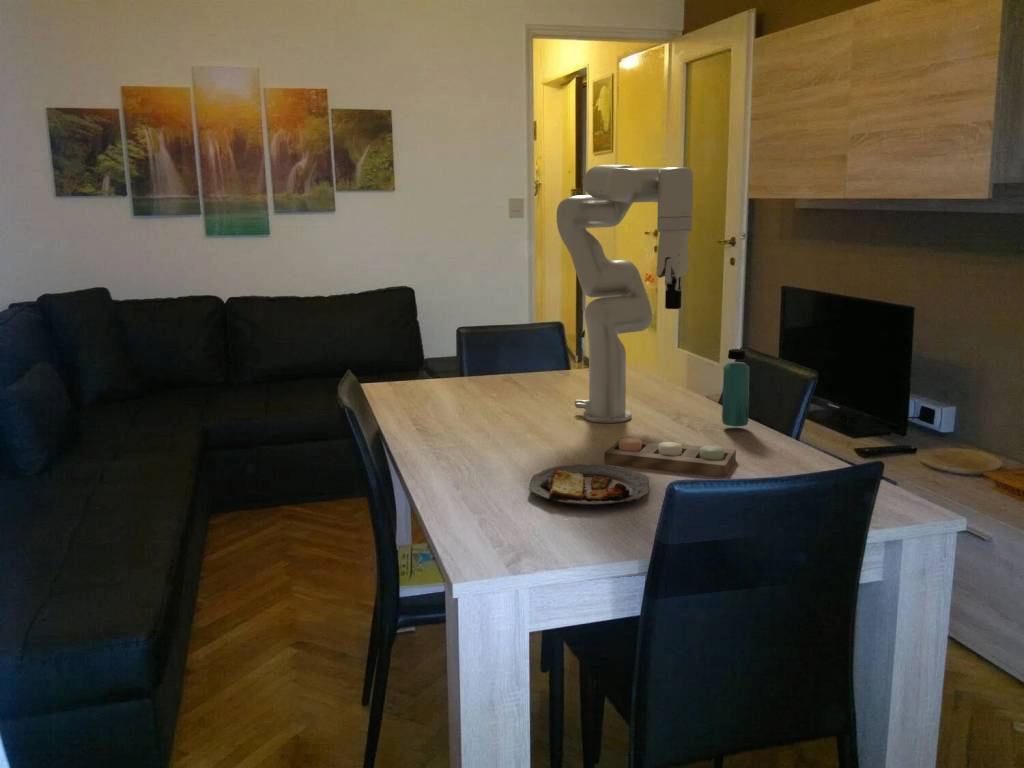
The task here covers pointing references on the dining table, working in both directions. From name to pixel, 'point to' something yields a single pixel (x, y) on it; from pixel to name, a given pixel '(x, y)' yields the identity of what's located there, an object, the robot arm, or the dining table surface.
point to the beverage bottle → (735, 390)
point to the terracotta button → (630, 444)
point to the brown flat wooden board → (670, 459)
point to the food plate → (570, 485)
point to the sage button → (712, 453)
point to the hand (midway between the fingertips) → (673, 308)
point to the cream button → (670, 448)
